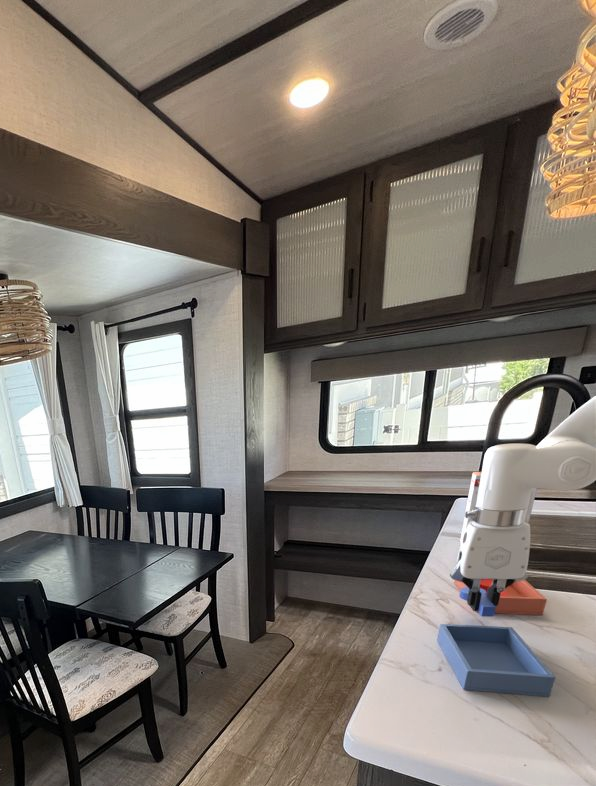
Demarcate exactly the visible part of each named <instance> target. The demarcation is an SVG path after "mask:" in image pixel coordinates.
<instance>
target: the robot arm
mask: <svg viewBox="0 0 596 786" xmlns="http://www.w3.org/2000/svg"><path fill="white" fill-rule="evenodd" d="M481 472H482V473H481V478H480V484H479V490H478V496H477V502H476V506H474V509H473V510H471V511H466V510H465V512H466V513H464V518H465V517H466V518H470V519H472V520H473V522H469V524H468V526H467V529H466V531H465V534H464V536H463V539H462V542H461V544H460V546H459V550H458V554H457V558H456V565H454V568H453V569H452V570H451V572H450V573H449V577H450V578H451V579H452V580H454V581H455V580H457V581H459V582H463V583H464V584H465V585H466V586H467V587H468V588H469V593H468V599H467V600H466V604H467V605H468V606H469V607H470V609H471V610H472V611H473V612H476V611H478V608H479V603H480V600H481V592H480V583H481V579H493V581H492V585H491V587H489V588H488V589H487V594H486V597H487V598H488V599H489V600H490V601H491V603H492V604H493V605H494V606H498V603H499V598H500V594H501V592H503V591H504V590H505V588H507V587H508V586H510V585H511V584H513V583H514V582H518V581H521V580H527V579H528V573H527V570H528V565H529V558H530V550H531V524H530V523H529V524H528V523H526V522H525V518H526V514H527V509H528V505H529V500H530V495H531V491H532V488H537V489H540V490H549V491H560V492H561V491H563V492H568V491H575V490H580V489H583V488H586V487H588V486H590V485H591V484H592V483H594V482H595V481H596V395H595V396H593V397H592V398H590V399H589V400H587V402H585V403H583V404H582V405H580V407H578V408H577V409H576V410H575V411H573V412H572V413H571V414H570V415H569V416H567V418H565V419H564V420H563V421H562V422H560V424H558V426H556V427H555V428H554V429H553V430H552V431H550V432H549V434H548V435H546V436H545V437H544V438H543V439H542V440H541V441H540V442H539V443H538V444H537V445H535V444H531V443H502V444H496V445H494V446H491V447H489V448H487V450H486V452H485V453H484V457H483V461H482V468H481Z"/></svg>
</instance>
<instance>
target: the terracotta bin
mask: <svg viewBox="0 0 596 786" xmlns="http://www.w3.org/2000/svg"><path fill="white" fill-rule="evenodd" d="M481 580H493V579H481ZM453 583H454V585H455V586H456V588H458V590H459V591H460V589H461V588H463V587H467V586H466V585H465V584H464V583H463V582H459V581H457V580H454V581H453ZM504 591H505V592H506V593H507V594H508V595H509V596H510V597H505V596H500V598H499V603H498V606H495V607H496V608H495V613H494V614H505V615H506V614H507V615H508V614H509V615H529V616H530V615H531V616H543V615H544V611H545V608H546V604H547V601H548V600H547V598H546V597H545V596H544V595H543V594H542V593H541V592H540V591H538V589H536V588H535V587H534V586H533V585H531V584H530V583H529V582H528V581H527V579H525V580H521V581H518V582H514V583H513V584H511V585H510V586H508V587H507V588H505V590H504ZM486 594H487V592H486ZM475 612H476V613H478V614H479V612H478V611H475Z"/></svg>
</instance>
